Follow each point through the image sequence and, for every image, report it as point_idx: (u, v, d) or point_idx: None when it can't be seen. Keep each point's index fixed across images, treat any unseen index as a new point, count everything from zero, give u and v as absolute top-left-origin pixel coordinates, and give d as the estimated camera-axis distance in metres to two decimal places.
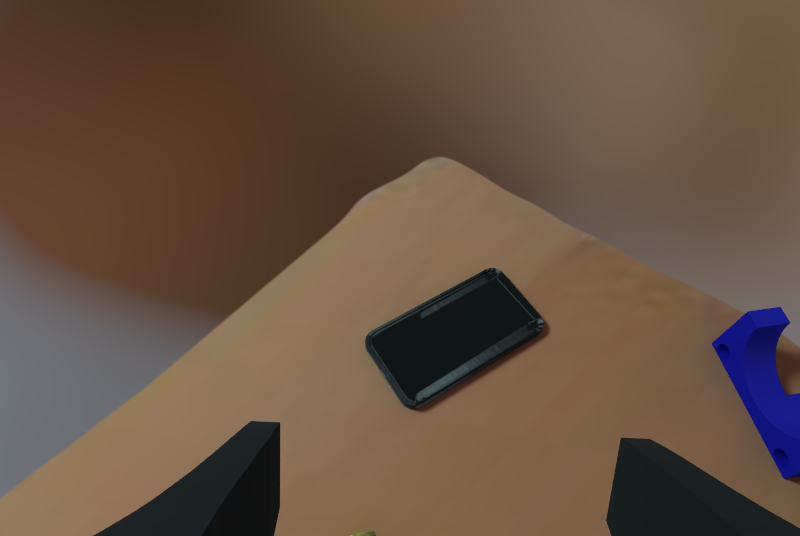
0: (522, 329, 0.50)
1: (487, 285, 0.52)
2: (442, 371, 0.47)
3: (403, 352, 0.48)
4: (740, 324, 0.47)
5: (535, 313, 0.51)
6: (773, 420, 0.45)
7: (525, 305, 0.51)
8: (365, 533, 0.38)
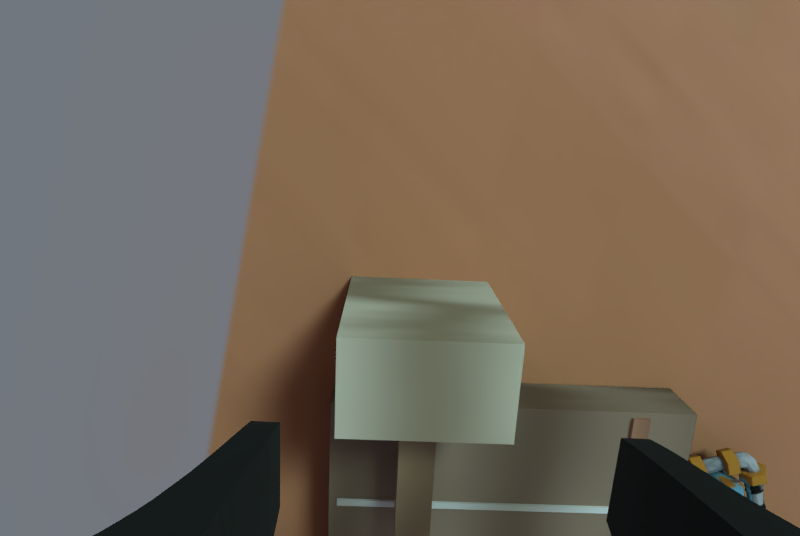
0: None
1: None
2: None
3: None
4: None
5: None
6: None
7: None
8: None
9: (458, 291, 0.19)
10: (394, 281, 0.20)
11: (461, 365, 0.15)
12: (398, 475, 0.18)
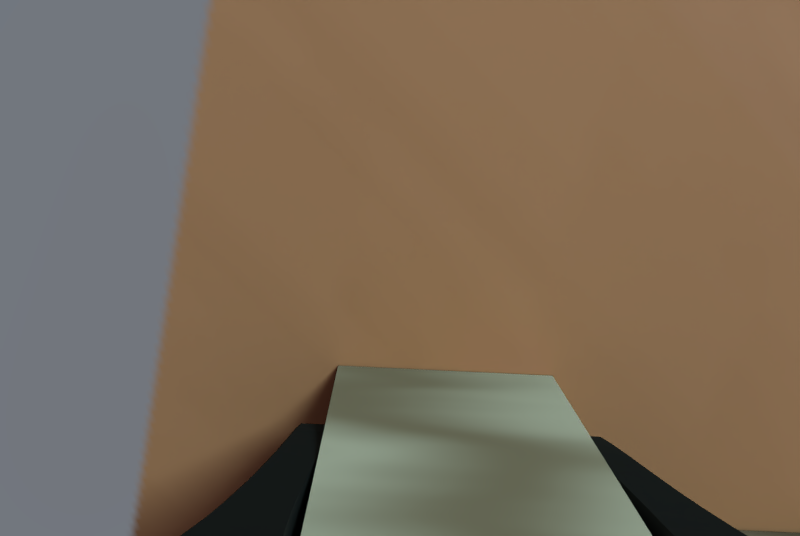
0: None
1: None
2: None
3: None
4: None
5: None
6: None
7: None
8: None
9: (512, 403, 0.12)
10: (405, 377, 0.13)
11: None
12: None
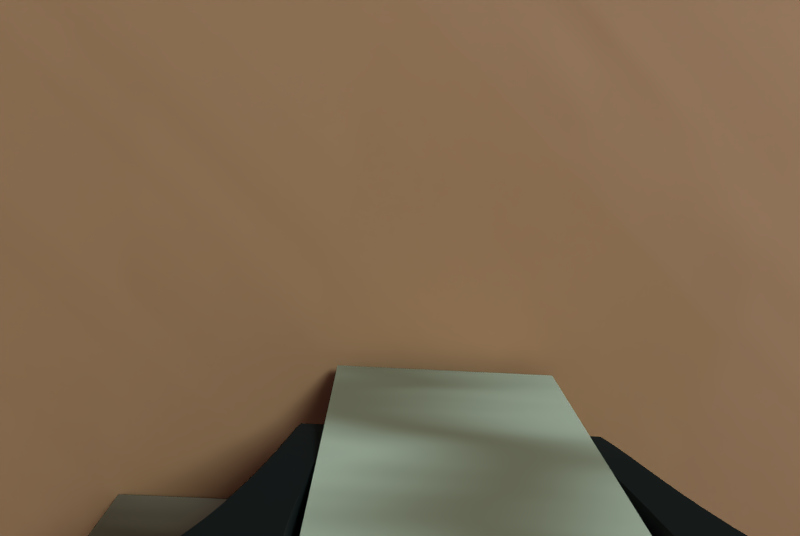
0: None
1: None
2: None
3: None
4: None
5: None
6: None
7: None
8: None
9: (511, 403, 0.12)
10: (404, 377, 0.13)
11: None
12: None
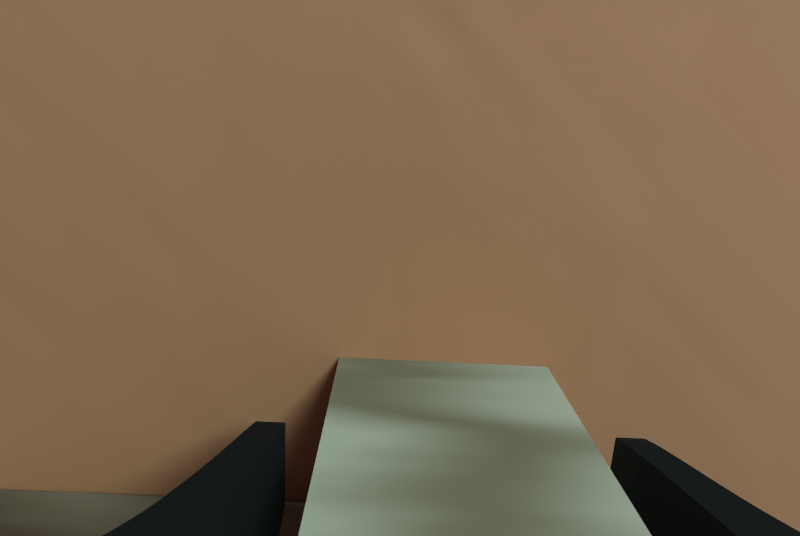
0: None
1: None
2: None
3: None
4: None
5: None
6: None
7: None
8: None
9: (507, 392, 0.12)
10: (404, 367, 0.13)
11: None
12: None
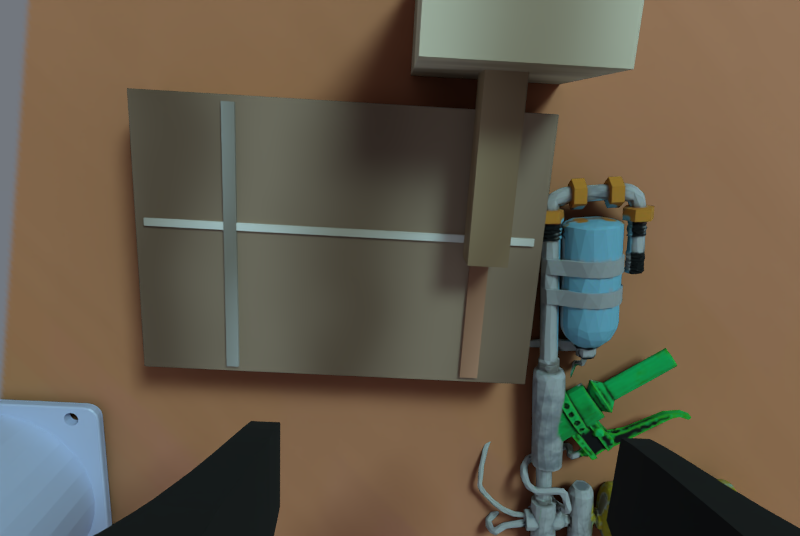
0: None
1: None
2: None
3: None
4: None
5: None
6: None
7: None
8: None
9: None
10: None
11: None
12: (477, 170, 0.16)
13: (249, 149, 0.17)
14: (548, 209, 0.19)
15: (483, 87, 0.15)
